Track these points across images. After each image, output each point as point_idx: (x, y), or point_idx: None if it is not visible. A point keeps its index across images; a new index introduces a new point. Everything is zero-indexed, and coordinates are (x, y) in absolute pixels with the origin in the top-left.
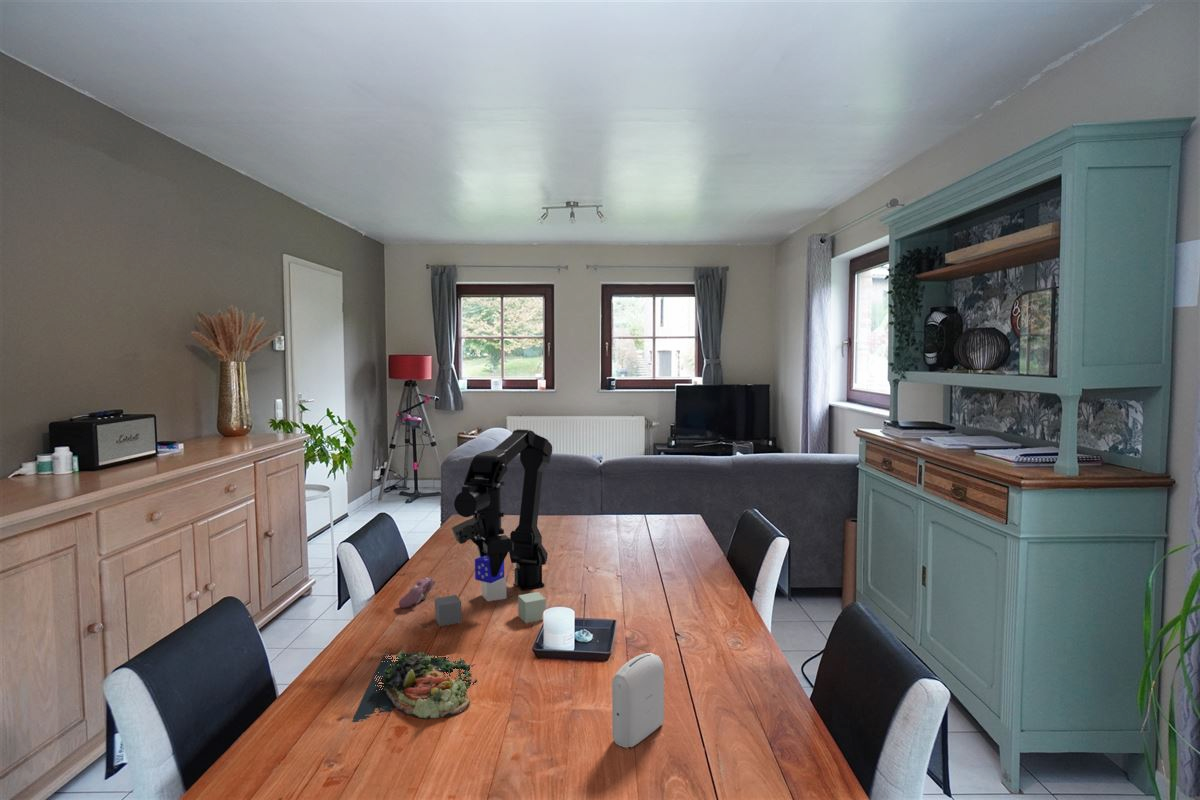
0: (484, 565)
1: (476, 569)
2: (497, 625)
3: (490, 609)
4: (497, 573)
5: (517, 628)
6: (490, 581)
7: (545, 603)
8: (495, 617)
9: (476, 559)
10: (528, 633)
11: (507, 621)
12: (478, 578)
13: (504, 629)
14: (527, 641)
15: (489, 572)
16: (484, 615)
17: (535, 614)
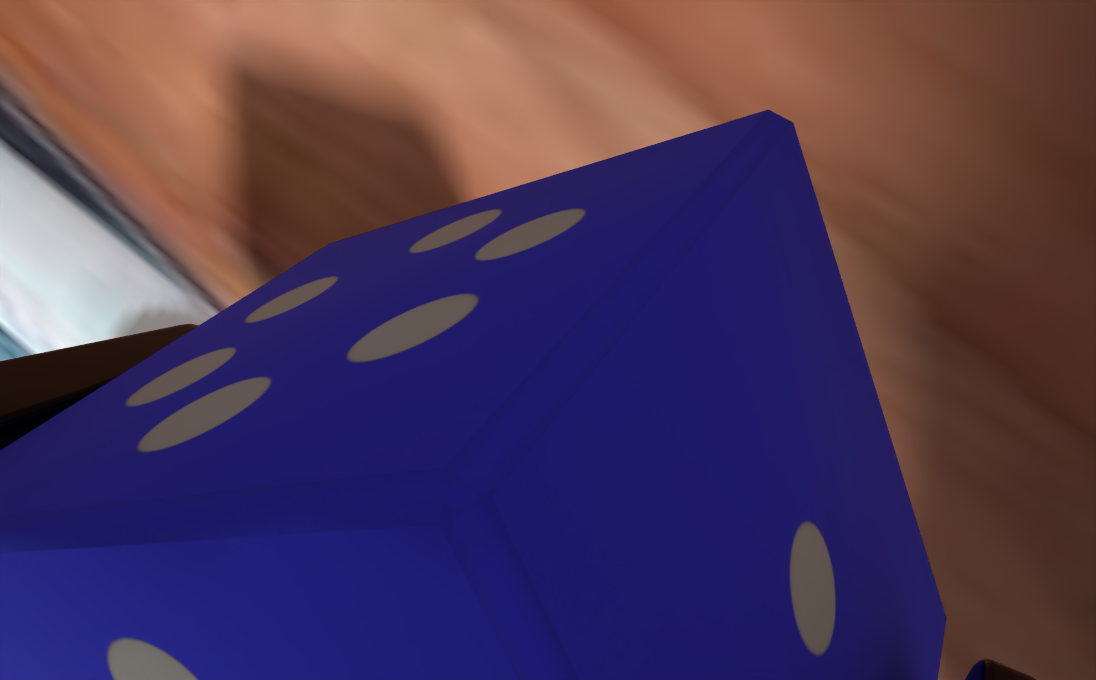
0: (148, 426)
1: (593, 252)
2: (412, 5)
3: (923, 228)
4: None
5: (264, 131)
6: (309, 256)
7: None
8: (632, 121)
9: (351, 513)
10: (143, 141)
11: (455, 159)
12: (630, 162)
13: (290, 11)
14: (15, 36)
15: (169, 351)
16: (787, 42)
17: None
